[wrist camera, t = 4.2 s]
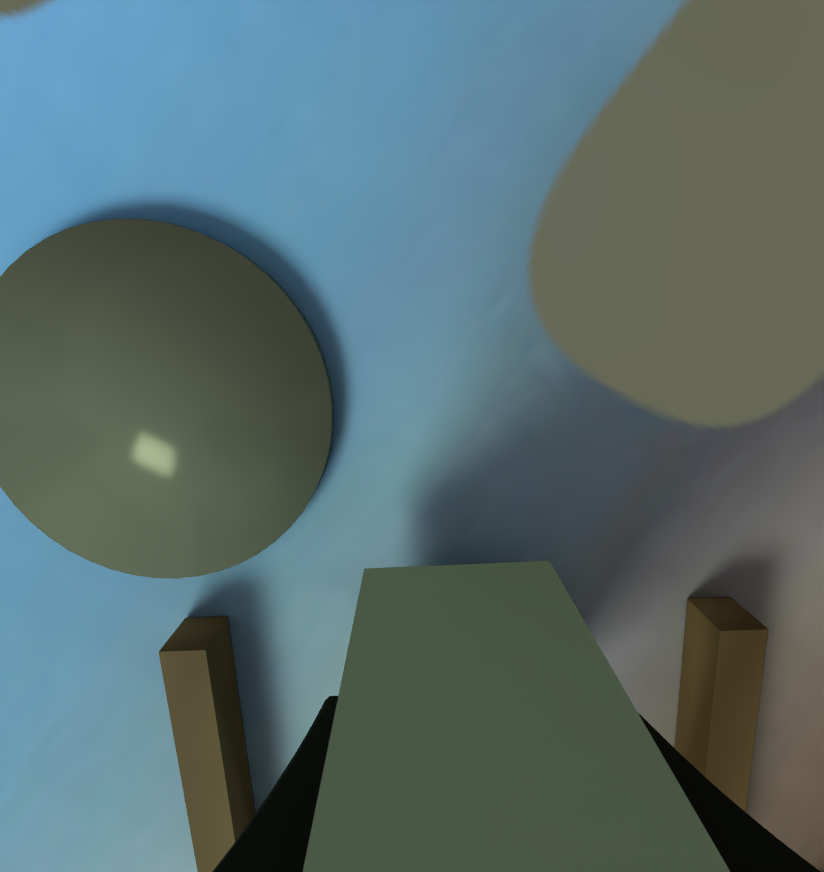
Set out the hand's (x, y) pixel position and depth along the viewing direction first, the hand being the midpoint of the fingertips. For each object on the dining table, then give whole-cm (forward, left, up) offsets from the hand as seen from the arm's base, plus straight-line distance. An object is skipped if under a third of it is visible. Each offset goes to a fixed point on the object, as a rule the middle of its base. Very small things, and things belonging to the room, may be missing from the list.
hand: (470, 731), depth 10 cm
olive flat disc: (+7, -6, -4) cm, 11 cm away
